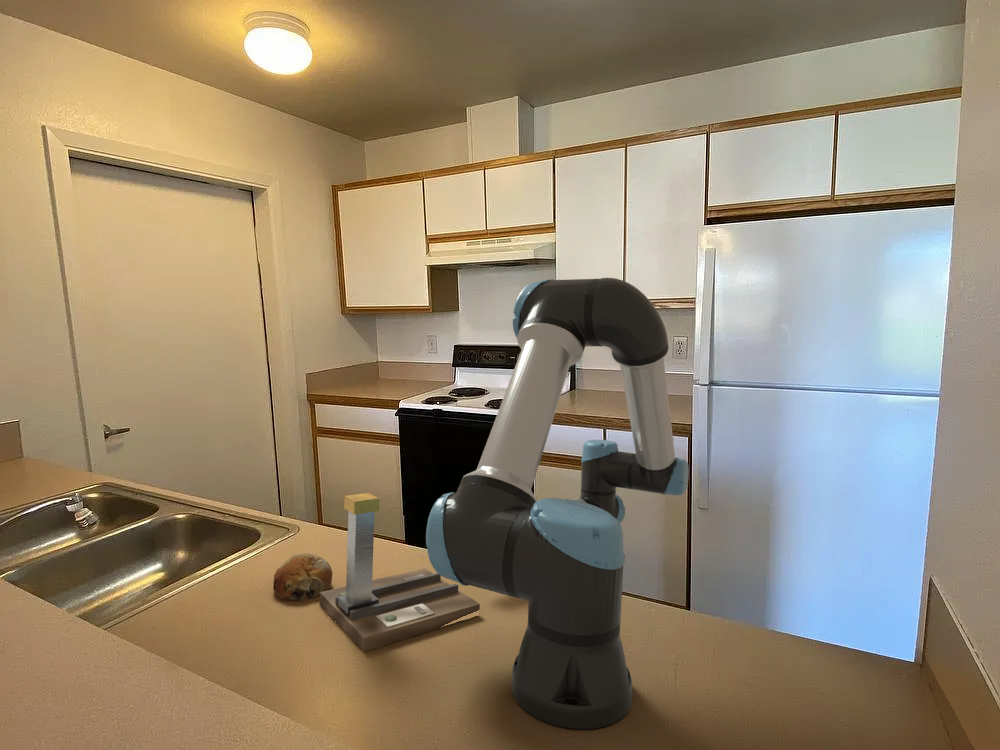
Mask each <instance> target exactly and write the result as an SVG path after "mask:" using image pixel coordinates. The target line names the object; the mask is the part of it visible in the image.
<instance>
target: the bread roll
mask: <svg viewBox="0 0 1000 750" xmlns="http://www.w3.org/2000/svg"><path fill="white" fill-rule="evenodd" d="M332 581H333V570H332V567H331V565H330V564H329V562H328V561H327V560H326V559H324V558H323V557H321V556H319V555H316V554H313V553H309V552H307V553H298V554H293V555H291V556H290V557H289V558H288V559H286V560H285V561H284V562H283V563H282V564H281V565H280V566H278V567H277V568H276V570H275V572H274V575H273V587H272V588H273V593H274V594H275V596H276V597H277V598H279V599H281V600H284V601H285V600H286V601H288V600H289V601H303V600H304V601H305V600H308V599H313V598H315V597H318V596H320V592H323V591H327V590H330V588H331V587H332V583H333V582H332Z"/></svg>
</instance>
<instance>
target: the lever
mask: <svg viewBox="0 0 1000 750" xmlns="http://www.w3.org/2000/svg"><path fill="white" fill-rule="evenodd" d="M343 504H344V505H343V506H344V507H343V509H344V510H346V511H347V512H348V515H347V517H348V519H347V548H346V549H347V551H346V554H347V555H346V574H345V575H346V578H345V579H346V580H345V586H346V596H342V597H338V605H339V606H340V607H341V608H342V609H343V610H344V611H345V612H346V613H347V614H348V615H349V614H350V611H351V610H355V609H359V608H363V607H366V606H370V605H374V604H378V603H379V599H378V598H377V597H376V596H374V595H373V594H372V580H373V568H374V567H373V565H374V540H375V539H374V538H375V537H374V535H375V512H379V511H380V497H378V496H376V495H373V494H371V493H370V492H365V493H356V494H351V495H350V494H349V495H344V501H343Z"/></svg>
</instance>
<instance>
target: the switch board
mask: <svg viewBox="0 0 1000 750" xmlns="http://www.w3.org/2000/svg"><path fill="white" fill-rule="evenodd" d="M441 577H442V576H441V575H439V574H438V573H437V572H435V573H433V572H432V571H430V570H429V569H426V568H420V569H416V570H412V571H408V572H404V573H399V574H395V575H389V576H385V577H382V578H377V579H372V594H373V595H374V596H376V597H377V598H378V599H379V603H378V604H374V605H370V606H366V607H363V608H359V609H355V610H351V611H350V614H349V615H348V614H347V613H346V612H345V611H344V610H343V609H342V608H341V607H340V606H339V605H338V597H342V596H346V585H345V586H342V587H338V588H332V589H327V591H323V592H320V595H319V605H320V606H321V607H322V609H323V610H324V611H325V612H326V613H327V614H328V615H329V616H330V618H332V619H333V621H335V622H336V624H337V625H338V626H339V627H340V628H341V629H342V631H343V632H345V634H347V636H348V637H349V638H350V639H351V640H352V641H353V642H354V644H356V645H357V646H358V648H359V649H360V650H361V651H362V652H363V653H364V652H367V651H370V650H374V649H377V648H380V647H384V646H387V645H389V644H390V645H391V644H393V643H397V642H400V641H404V640H406V639H410V638H413V637H416V636H419V635H422V634H423V635H424V634H426V633H430V632H433V631H435V630H438V629H437V628H439V629H441V628H440V627H442V626H444V625H445V624H448V623H450V622H452V621H454V620H457V619H459V618H461V617H463V616H466V615H468V614H471V613H473V612H476V611H478V610H480V609H481V608H480V606H481V604H480V603H479V602H477V600H475V599H473V598H472V597H470V596H469V595H467V594H465V593H464V592H463V591H460V590H459V584H457V583H453V584H450V583H448V582H446V581H445V580H444V579H443V578H441ZM442 628H443V627H442Z"/></svg>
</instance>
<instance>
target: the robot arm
mask: <svg viewBox="0 0 1000 750" xmlns="http://www.w3.org/2000/svg"><path fill="white" fill-rule="evenodd" d="M513 314H514V317H512V329H513V333H514V336H515V338H516V340H517V344H518V346H519V348H520V353H519V356H518V359H517V361H516V364H515V367H514V368H513V372H512V374H511V377H510V379H509V382H508V385H507V388H506V390H505V393H504V396H503V398H502V401H501V404H500V406H499V408H498V411H497V415H496V416H495V420H494V423H493V425H492V428H491V430H490V433H489V436H488V438H487V441H486V442H485V443H486V444H485V446H484V448H483V449H484V450H482V454H481V456H480V460H479V462H478V465H477V468H476V469H475V470H473V471H471V472H469V473H466V474H465V475H463V477H462V478H461V481H460V483H459V486H458V487H457V491H456V492H453V491H452V492H447V493H444V494H442V495H441V496H440V497H439V498H437V499H436V501H435V502H434V504H433V505H432V508H431V510H430V512H429V515H428V518H427V522H426V523H427V525H426V531H425V532H426V533H425V545H426V549H427V555H428V556H427V557H428V559H429V562H430V564H431V566H432V568H433V570H434V571H435V573H438V574H439V575H441V577H442V578H445V579H448V580H451V581H454V582H457V583H459V585H461V586H471V587H476V588H478V589H483V590H487V591H490V592H494V593H497V594H501V595H505V596H509V597H512V598H515V599H519V600H523V601H526V602H527V603H528V607H527V608H528V609H527V610H528V611H527V626H526V629H525V632H524V634H523V638H522V641H521V644H520V647H519V651H518V654H517V656H516V657H515V659H514V661H513V664H512V668H511V669H512V671H511V692H512V695H513V697H514V699H515V702H517V703H518V704H519V706H520V707H521V708H522V709H523V710H524V711H526V712H527V713H529V714H530V715H531V716H533V717H535V718H537V719H538V720H541V721H542V722H544V723H548V724H551V725H554V726H557V727H562V728H566V729H567V728H568V729H573V730H574V729H576V730H590V729H597V728H598V729H599V728H603V727H606V726H607V727H608V726H609V725H613V724H614V723H617V722H618V721H620V720H621V719H623V717H625V716H626V715H627V713H628V712H629V710H630V709H631V706H632V703H633V702H632V701H633V700H632V699H633V680H632V676H631V672H630V670H629V668H628V667H627V661H626V657H625V653H624V652H625V651H624V648H623V644H622V640H621V639H622V638H621V619H622V618H621V617H622V601H623V600H622V599H623V581H624V580H623V579H624V565H625V562H626V561H625V560H626V559H625V552H624V531H623V527H622V525H621V523H623V521H624V519H625V516H626V506H624V501H623V499H622V498H621V496H620V495H618V494H617V488H620V489H627V490H633V491H640V492H646V493H647V492H648V493H652V494H653V493H654V494H659V495H663V496H665V495H669V496H671V495H672V496H683V495H684V494H685V493H686V491H687V488H688V483H689V471H690V470H689V463H688V462H687V460H685V459H684V458H679V457H677V456H676V453H675V442H674V437H673V436H674V435H673V427H672V418H671V417H672V416H671V411H670V401H669V395H668V394H669V391H668V385H667V375H666V369H665V368H666V366H665V359H664V358H666V356H667V355H668V353H669V349H670V348H669V340H668V333H667V328H666V327H665V323H664V321H663V319H662V318H661V315H660V313H659V312H658V310H657V309H656V307H655V305H654V304H653V303H652V302H651V300H650V299H649V298H648V297H647V296H646V294H644V293H643V292H642V291H641V290H640V289H638V288H637V287H636V286H635V285H633V284H631V283H629V282H627V281H625V280H622V279H619V278H614V277H601V278H585V279H584V278H579V279H578V278H577V279H576V278H575V279H574V278H573V279H544V280H539V281H533V282H531V283H529V284H527V285H526V286H524V287H523V288H522V289H521V291H520V292H519V294H518V296H517V297H516V300H515V302H514V306H513ZM586 347H607V348H609V349H610V350H611V355H612V358H613V360H614V362H615V363H617V364H618V365H619V366H620V371H621V372H620V373H621V378H622V383H623V388H624V394H625V400H626V405H627V410H628V416H629V417H628V418H629V423H630V428H631V434H632V439H633V445H634V450H635V453H634V452H625V451H619V446H618V443H617V442H616V441H613V440H607V439H588V440H586V441H585V442H584V443H583V445H582V455H581V460H580V462H581V471H580V472H581V473H580V496H579V497H575V498H564V499H563V498H562V499H561V498H559V497H546V498H541V499H537V498H536V496H535V495H534V492H533V491H532V488H533V485H534V481H535V479H536V474H537V472H538V469H539V466H540V462H541V460H542V455H543V453H544V451H545V450H544V449H545V446H546V444H547V440H548V438H549V437H548V436H549V434H550V430H551V427H552V424H553V421H554V418H555V415H556V411H557V407H558V404H559V402H560V398H561V395H562V392H563V389H564V385H565V382H566V379H567V375H568V373H569V370H570V367H571V366H574V365H576V364H578V363H579V362H580V361H581V359H582V358H583V354H584V351H585V349H586Z"/></svg>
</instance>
